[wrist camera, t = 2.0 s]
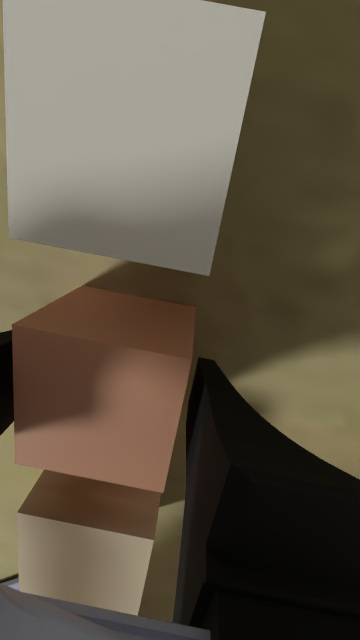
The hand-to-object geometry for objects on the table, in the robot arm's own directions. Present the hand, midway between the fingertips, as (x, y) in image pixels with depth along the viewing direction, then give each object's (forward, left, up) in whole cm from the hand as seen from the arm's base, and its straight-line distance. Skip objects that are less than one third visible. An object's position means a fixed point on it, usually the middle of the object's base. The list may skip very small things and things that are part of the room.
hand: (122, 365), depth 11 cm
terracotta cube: (0, 0, -2) cm, 2 cm away
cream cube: (+5, -4, -2) cm, 7 cm away
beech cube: (-5, +4, -2) cm, 7 cm away
